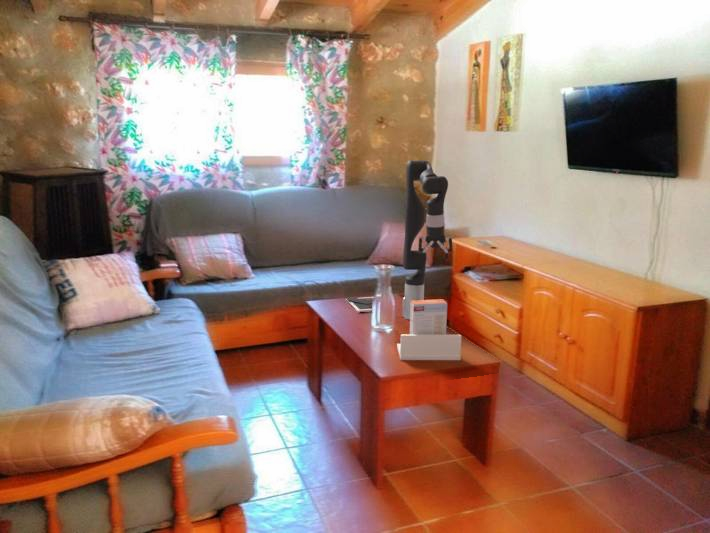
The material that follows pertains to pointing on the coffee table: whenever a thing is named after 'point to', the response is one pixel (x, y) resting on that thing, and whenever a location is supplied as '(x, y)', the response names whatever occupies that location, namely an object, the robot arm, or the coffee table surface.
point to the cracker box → (428, 316)
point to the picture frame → (360, 303)
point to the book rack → (429, 347)
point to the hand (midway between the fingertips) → (435, 260)
